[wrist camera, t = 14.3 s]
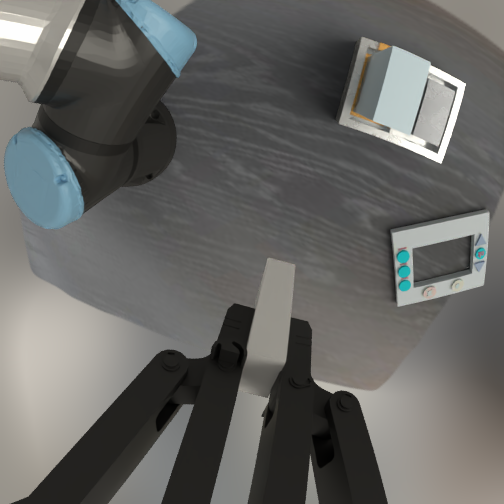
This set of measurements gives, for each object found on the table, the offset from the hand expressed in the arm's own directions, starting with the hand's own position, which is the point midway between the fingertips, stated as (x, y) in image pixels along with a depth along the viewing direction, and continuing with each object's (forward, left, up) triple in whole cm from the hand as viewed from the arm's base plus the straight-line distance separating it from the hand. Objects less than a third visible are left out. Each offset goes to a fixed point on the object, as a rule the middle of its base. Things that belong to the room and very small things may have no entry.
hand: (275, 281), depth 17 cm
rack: (+12, +13, -29) cm, 34 cm away
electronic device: (+29, -8, -30) cm, 43 cm away
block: (+8, +13, -27) cm, 31 cm away
